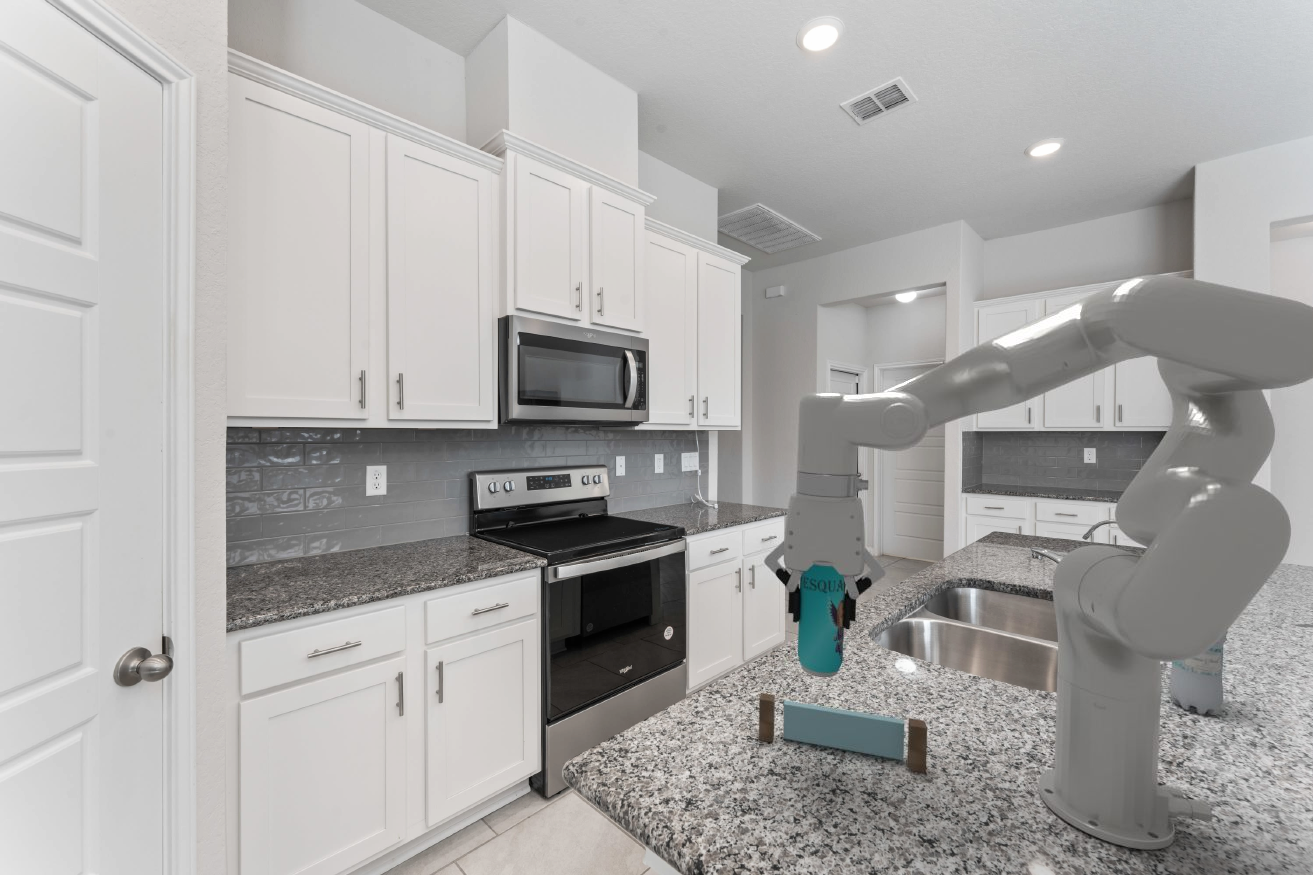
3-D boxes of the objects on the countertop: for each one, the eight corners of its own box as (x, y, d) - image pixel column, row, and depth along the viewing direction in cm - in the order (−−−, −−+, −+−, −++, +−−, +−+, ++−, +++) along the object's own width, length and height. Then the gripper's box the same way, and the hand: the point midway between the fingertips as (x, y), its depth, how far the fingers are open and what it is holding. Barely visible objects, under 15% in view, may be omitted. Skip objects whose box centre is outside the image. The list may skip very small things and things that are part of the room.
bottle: (1175, 711, 89) (1180, 589, 88) (1161, 694, 95) (1165, 579, 94) (1232, 722, 85) (1237, 596, 85) (1213, 703, 91) (1218, 585, 91)
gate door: (902, 754, 76) (903, 719, 75) (903, 759, 74) (904, 723, 74) (783, 733, 81) (784, 700, 80) (783, 738, 79) (783, 704, 79)
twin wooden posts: (923, 761, 75) (924, 718, 75) (926, 773, 72) (927, 728, 72) (760, 732, 81) (761, 692, 81) (758, 741, 79) (758, 700, 79)
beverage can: (833, 684, 69) (837, 565, 68) (790, 670, 72) (794, 557, 72) (848, 668, 73) (852, 557, 73) (806, 656, 77) (810, 550, 76)
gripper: (893, 487, 73) (888, 621, 73) (762, 480, 78) (758, 605, 79) (900, 494, 66) (894, 642, 66) (756, 485, 71) (751, 623, 71)
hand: (821, 620), depth 72 cm, fingers closed on beverage can, 5 cm apart
